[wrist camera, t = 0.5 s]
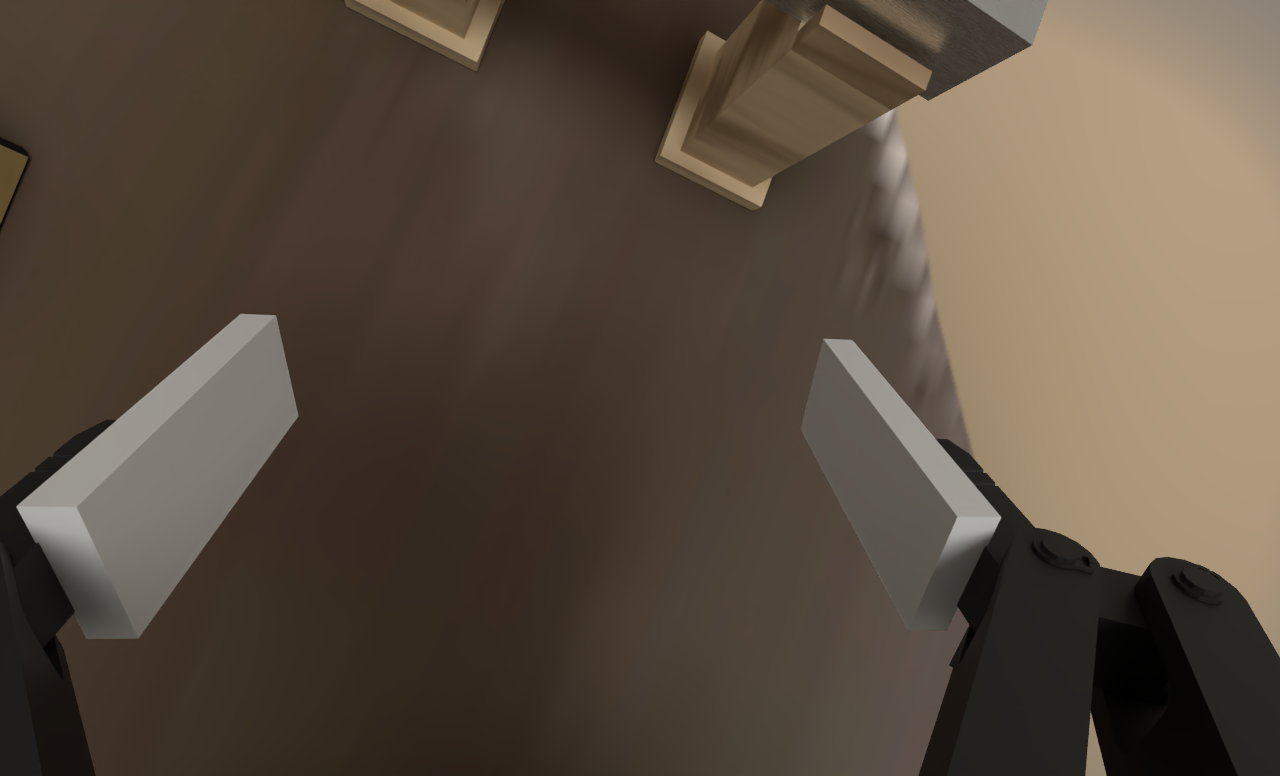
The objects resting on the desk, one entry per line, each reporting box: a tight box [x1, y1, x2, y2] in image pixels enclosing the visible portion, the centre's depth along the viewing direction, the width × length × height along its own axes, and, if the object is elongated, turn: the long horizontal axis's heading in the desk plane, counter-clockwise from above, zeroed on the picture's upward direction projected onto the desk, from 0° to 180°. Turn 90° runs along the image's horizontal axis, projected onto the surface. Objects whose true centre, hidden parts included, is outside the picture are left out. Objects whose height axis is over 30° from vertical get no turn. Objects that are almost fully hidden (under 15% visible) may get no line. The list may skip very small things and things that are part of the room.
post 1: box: [654, 0, 932, 211], centre depth 31 cm, size 8×7×16 cm
